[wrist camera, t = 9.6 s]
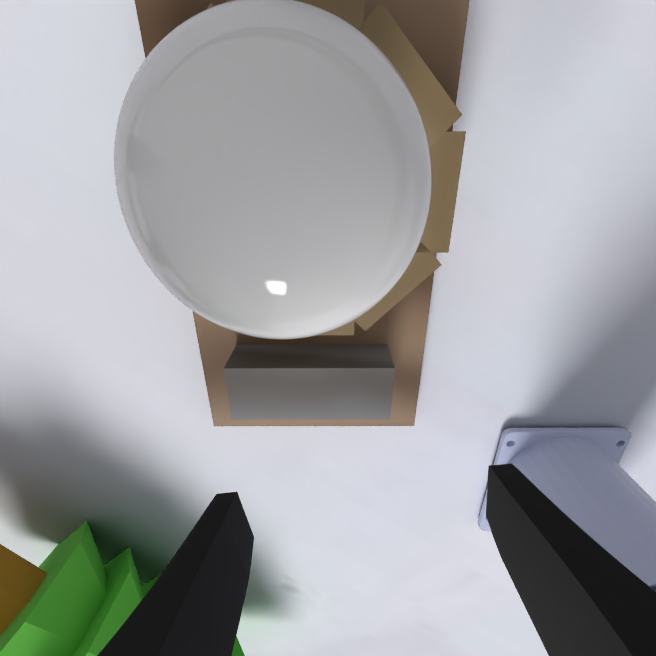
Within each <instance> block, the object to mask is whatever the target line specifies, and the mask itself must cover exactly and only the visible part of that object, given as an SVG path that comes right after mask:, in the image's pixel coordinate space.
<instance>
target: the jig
mask: <svg viewBox="0 0 656 656" xmlns="http://www.w3.org/2000/svg"><path fill="white" fill-rule="evenodd" d="M229 1H234V0H135V4H136V9H137V15H138V20H139V25H140V31H141V36H142V42H143V47H144V52H145V58H146V57H147V56H148V55H149V53H150V52H151V51H152V50H153V49H154V47H155V46H156V45H157V44H158V43H159V42H160V41H161V40H162V39H163V38H164V37H165V36H166V35H167V34H168V33H169V32H171V31H172V30H173V29H174V28H176V27H177V26H178V25H180V24H181V23H183V22H184V21H186V20H187V19H189V18H190V17H192V16H194V15H196V14H198V13H200V12H202V11H204V10H206V9H208V8H211V7H213V6H216V5H219V4H222V3H226V2H229ZM295 1H299V2H304V3H307V4H310V5H313V6H316V7H319V8H321V9H323V10H326V11H328V12H330V13H332V14H334V15H336V16H338V17H340V18H342V19H343V20H345V21H347V22H348V23H350V24H351V25H353V26H354V27H355V28H357V29H358V30H359V31H361V32H362V33H363V34H364V35H366V36H367V37H368V38H369V39H370V40H371V41H372V42H373V43H375V44H376V45H377V46H378V48H379V49H380V50H381V51H382V52H383V53H384V54H385V55H386V56H387V57H388V59H389V60H390V61H391V62H392V64H393V65H394V66H395V68H396V69H397V71H398V72H399V73H400V75H401V77H402V78H403V80H404V81H405V83H406V85H407V86H408V88H409V90H410V92H411V94H412V96H413V98H414V100H415V102H416V105H417V107H418V109H419V112H420V115H421V118H422V121H423V124H424V127H425V131H426V135H427V140H428V145H429V150H430V158H431V170H432V189H431V201H430V208H429V213H428V218H427V222H426V226H425V229H424V233H423V236H422V238H421V241H420V244H419V246H418V248H417V251H416V253H415V255H414V257H413V259H412V261H411V263H410V264H409V266H408V268H407V269H406V271H405V272H404V274H403V275H402V277H401V278H400V279H399V281H398V282H397V283H396V285H395V286H394V287H393V288H392V289H391V290H390V292H389V293H388V294H387V295H386V296H385V297H384V298H383V299H382V300H381V301H380V302H378V303H377V304H376V305H375V306H374V307H373V308H371V309H370V310H369V311H367V312H366V313H365V314H363V315H362V316H360V317H359V318H357V319H355V320H354V321H352V322H350V323H348V324H346V325H344V326H342V327H340V328H337V329H335V330H332V331H329V332H326V333H323V334H320V335H316V336H311V337H306V338H299V339H265V338H258V337H253V336H248V335H244V334H240V333H237V332H234V331H231V330H228V329H226V328H223V327H221V326H219V325H217V324H214V323H212V322H210V321H209V320H207V319H205V318H203V317H202V316H200V315H198V314H197V313H195V312H194V311H193V316H194V321H195V327H196V332H197V337H198V343H199V348H200V353H201V359H202V364H203V370H204V375H205V380H206V386H207V391H208V396H209V402H210V407H211V413H212V418H213V423H214V426H414V422H415V414H416V407H417V399H418V391H419V384H420V376H421V368H422V360H423V353H424V345H425V337H426V330H427V322H428V314H429V306H430V299H431V291H432V283H433V276H434V271H435V270H436V269H437V268H438V267H439V266H441V264H440V262H439V261H438V260H437V259H436V252H448V251H449V245H450V238H451V231H452V224H453V217H454V210H455V203H456V196H457V189H458V182H459V175H460V168H461V161H462V154H463V148H464V141H465V134H466V131H463V132H452V129H453V124H454V123H455V122H456V120H457V119H458V118H459V117H460V116H461V115H462V114H461V112H460V111H459V110H458V108H457V107H456V98H457V90H458V83H459V75H460V67H461V60H462V52H463V44H464V36H465V29H466V21H467V13H468V6H469V0H295Z"/></svg>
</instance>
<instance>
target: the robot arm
mask: <svg viewBox="0 0 656 656" xmlns="http://www.w3.org/2000/svg"><path fill="white" fill-rule="evenodd" d="M630 438H631V433H630V432H629V431H628V430H627V429H625V428H508V429H505V430H504V431H503V433H502V435H501V439H500V442H499V446H498V450H497V453H496V457H495V461H494V464H493V465H491V466H489V471H488V486H487V490H486V494H485V498H484V501H483V505H482V509H481V512H480V516H479V520H478V525H479V528H480V529H481V530H484V531H491V532H492V534H493V537H494V540H495V542H496V545H497V548H498V550H499V553H500V555H501V558H502V560H503V562H504V564H505V566H506V568H507V570H508V572H509V575H510V577H511V579H512V581H513V583H514V585H515V587H516V589H517V591H518V593H519V595H520V597H521V599H522V601H523V603H524V606H525V608H526V610H527V612H528V614H529V616H530V618H531V620H532V622H533V624H534V626H535V628H536V630H537V632H538V634H539V636H540V638H541V640H542V642H543V645H544V647H545V649H546V651H547V653H548V655H549V656H656V502H655V501H654V500H653V499H652V498H651V497H650V496H649V495H648V494H647V493H646V492H645V491H644V490H643V489H642V488H641V487H640V486H639V485H638V484H637V483H636V482H635V481H634V480H633V479H632V478H631V477H630V476H629V475H628V474H627V473H626V472H625V471H624V470H623V469H622V468H621V467H620V466H619V465H618V463H619V461H620V459H621V456H622V454H623V452H624V450H625V448H626V446H627V444H628V442H629V440H630ZM508 441H510V442H508ZM253 541H254V536H253V533H252V531H251V528H250V525H249V523H248V520H247V517H246V515H245V512H244V509H243V507H242V504H241V501H240V499H239V496H238V493H237V492H231V493H222V494H217V495H216V496H215V497H214V498H213V500H212V501H211V503H210V504H209V506H208V507H207V509H206V510H205V512H204V513H203V515H202V516H201V518H200V519H199V520H198V522H197V523H196V525H195V526H194V528H193V529H192V531H191V532H190V534H189V535H188V537H187V538H186V540H185V541H184V542H183V544H182V545H181V547H180V548H179V550H178V551H177V552H176V554H175V555H174V557H173V558H172V559H171V561H170V562H169V564H168V565H167V566H166V568H165V569H164V571H163V572H162V574H161V575H160V576H159V578H158V579H157V580H156V582H155V583H154V584H153V586H152V587H151V588H150V590H149V591H148V592H147V594H146V595H145V596H144V598H143V599H142V600H141V601H140V603H139V604H138V605H137V607H136V608H135V609H134V611H133V612H132V613H131V615H130V616H129V617H128V618H127V620H126V621H125V622H124V623H123V625H122V626H121V627H120V628H119V630H118V631H117V632H116V633H115V635H114V636H113V637H112V638H111V640H110V641H109V642H108V643H107V644H106V646H105V647H104V648H103V649H102V650H101V652H100V653H99V654H98V655H97V656H232V651H233V647H234V643H235V638H236V634H237V630H238V625H239V621H240V616H241V612H242V608H243V603H244V599H245V594H246V590H247V585H248V580H249V574H250V567H251V559H252V550H253Z"/></svg>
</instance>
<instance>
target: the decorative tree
mask: <svg viewBox="0 0 656 656" xmlns="http://www.w3.org/2000/svg"><path fill="white" fill-rule="evenodd" d="M160 575H161V574H160ZM160 575H158V576H157V577H155V578H154V579H152V580H151V581H149V582H148V583H146V584H145V585H143V586H141V583H140V580H139V576H138V573H137V570H136V567H135V563H134V560H133V557H132V553H131V550H130V547H128V548H126V549H125V550H124V551H122V552H121V553H120V554H118V555H117V556H116V557H115V558H113V559H112V560H111V561H109V562H108V563H107V564H105V565H103V562H102V560H101V557H100V554H99V552H98V549H97V546H96V544H95V541H94V538H93V536H92V533H91V530H90V528H89V525H88V522H87V520H86V521H85V522H84V523H83V524H82V525H80V526H79V527H78V528H77V529H76V530H75V531H73V532H72V533H71V534H70V535H69V536H68V537H67V538H65V539H64V540H63V541H62V542H61V543H60V544H58V546H57V547H56V548H55V549H54V550H53V551H52V552H51V554H50V555H49V556H48V557H47V558H46V559H45V560H44V562H43V563H42V564H41V565H40V566H39V567H37V566H35V565H33V564H32V563H30V562H29V561H27V560H25V559H24V558H22V557H20V556H19V555H17V554H16V553H14V552H12V551H11V550H9V549H7V548H6V547H4V546H2V545H1V544H0V656H97V655H98V654H99V653H100V652H101V650H102V649H103V648H104V647H105V646H106V644H107V643H108V642H109V641H110V640H111V638H112V637H113V636H114V635H115V633H116V632H117V631H118V630H119V628H120V627H121V626H122V625H123V623H124V622H125V621H126V620H127V618H128V617H129V616H130V615H131V613H132V612H133V611H134V609H135V608H136V607H137V605H138V604H139V603H140V601H141V600H142V599H143V598H144V596H145V595H146V594H147V592H148V591H149V590H150V588H151V587H152V586H153V584H154V583H155V582H156V580H157V579H158V578H159V576H160ZM232 656H244V653H243V651H242V648H241V646H240V644H239V641H238V639H237V637H236V638H235V643H234V647H233V651H232Z"/></svg>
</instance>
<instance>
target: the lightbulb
mask: <svg viewBox="0 0 656 656" xmlns="http://www.w3.org/2000/svg"><path fill="white" fill-rule="evenodd" d="M114 171H115V181H116V188H117V194H118V199H119V203H120V207H121V211H122V214H123V217H124V220H125V223H126V225H127V228H128V230H129V233H130V235H131V237H132V239H133V241H134V243H135V245H136V247H137V249H138V251H139V253H140V254H141V256H142V258H143V259H144V261H145V262H146V264H147V265H148V267H149V268H150V269H151V271H152V272H153V273H154V275H155V276H156V277H157V278H158V280H159V281H160V282H161V283H162V284H163V285H164V286H165V287H166V288H167V290H168V291H170V292H171V293H172V294H173V295H174V296H175V297H176V298H177V299H178V300H179V301H181V302H182V303H183V304H184V305H186V306H187V307H188V308H189V309H191V310H192V311H194V312H195V313H197V314H198V315H200V316H202V317H203V318H205V319H207V320H209V321H210V322H212V323H214V324H217V325H219V326H221V327H223V328H226V329H228V330H231V331H234V332H237V333H240V334H244V335H248V336H253V337H258V338H265V339H299V338H306V337H311V336H316V335H320V334H323V333H326V332H329V331H332V330H335V329H337V328H340V327H342V326H344V325H346V324H348V323H350V322H352V321H354V320H355V319H357V318H359V317H360V316H362V315H363V314H365V313H366V312H367V311H369V310H370V309H371V308H373V307H374V306H375V305H376V304H377V303H378V302H380V301H381V300H382V299H383V298H384V297H385V296H386V295H387V294H388V293H389V292H390V290H391V289H392V288H393V287H394V286H395V285H396V283H397V282H398V281H399V279H400V278H401V277H402V275H403V274H404V272H405V271H406V269H407V268H408V266H409V264H410V263H411V261H412V259H413V257H414V255H415V253H416V251H417V248H418V246H419V244H420V241H421V238H422V236H423V233H424V229H425V226H426V222H427V218H428V213H429V208H430V201H431V189H432V170H431V158H430V150H429V145H428V140H427V135H426V131H425V127H424V124H423V121H422V118H421V115H420V112H419V109H418V107H417V105H416V102H415V100H414V98H413V96H412V94H411V92H410V90H409V88H408V86H407V85H406V83H405V81H404V80H403V78H402V77H401V75H400V73H399V72H398V71H397V69H396V68H395V66H394V65H393V64H392V62H391V61H390V60H389V59H388V57H387V56H386V55H385V54H384V53H383V52H382V51H381V50H380V49H379V48H378V46H377V45H376V44H375V43H373V42H372V41H371V40H370V39H369V38H368V37H367V36H366V35H364V34H363V33H362V32H361V31H359V30H358V29H357V28H355V27H354V26H353V25H351V24H350V23H348V22H347V21H345V20H343V19H342V18H340V17H338V16H336V15H334V14H332V13H330V12H328V11H326V10H323V9H321V8H319V7H316V6H313V5H310V4H307V3H304V2H299V1H295V0H234V1H229V2H226V3H222V4H219V5H216V6H213V7H211V8H208V9H206V10H204V11H202V12H200V13H198V14H196V15H194V16H192V17H190V18H189V19H187V20H186V21H184V22H183V23H181V24H180V25H178V26H177V27H176V28H174V29H173V30H172V31H171V32H169V33H168V34H167V35H166V36H165V37H164V38H163V39H162V40H161V41H160V42H159V43H158V44H157V45H156V46H155V47H154V49H153V50H152V51H151V52H150V53H149V55H148V56H147V57H146V59H145V60H144V62H143V63H142V65H141V66H140V68H139V69H138V71H137V73H136V74H135V76H134V78H133V80H132V82H131V84H130V86H129V88H128V91H127V93H126V96H125V98H124V101H123V104H122V107H121V110H120V114H119V118H118V123H117V129H116V135H115V146H114Z"/></svg>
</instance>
